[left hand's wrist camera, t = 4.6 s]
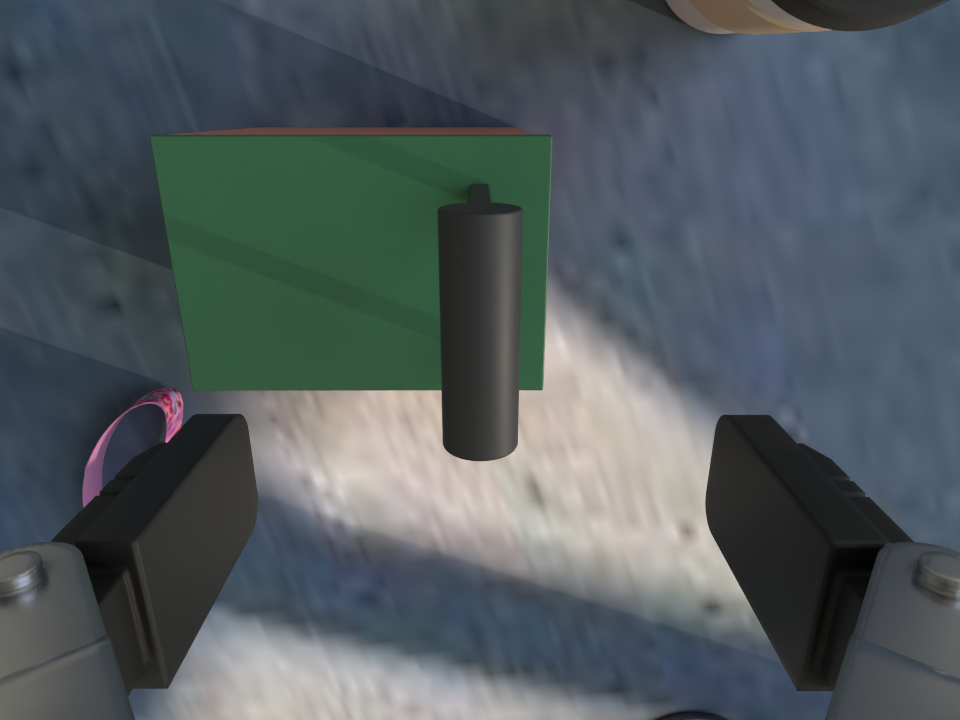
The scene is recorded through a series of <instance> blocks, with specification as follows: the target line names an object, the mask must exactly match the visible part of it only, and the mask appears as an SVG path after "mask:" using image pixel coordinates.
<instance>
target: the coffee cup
mask: <svg viewBox="0 0 960 720" xmlns="http://www.w3.org/2000/svg"><path fill="white" fill-rule="evenodd" d="M947 1H948V0H666V2H667V4H668V5H669V7H670V8H671V9H672V11H673V12H674V13H675V14H676V15H677V16H678V17H679V18H680V19H681V20H683V21H684V22H685V23H687V24H688V25H690V26H692V27H693V28H696V29H698V30H700V31H704V32H708V33H713V34H729V33H742V34H773V33H793V32H813V31H827V30H839V31H864V30H872V29H878V28H883V27H887V26H890V25H894V24H897V23H900V22H903V21H905V20H908V19H910V18H912V17H915V16H917V15H919V14H921V13H923V12H925V11H927V10H930V9H932V8H934V7H937V6H939V5H941V4H943V3H945V2H947Z"/></svg>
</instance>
